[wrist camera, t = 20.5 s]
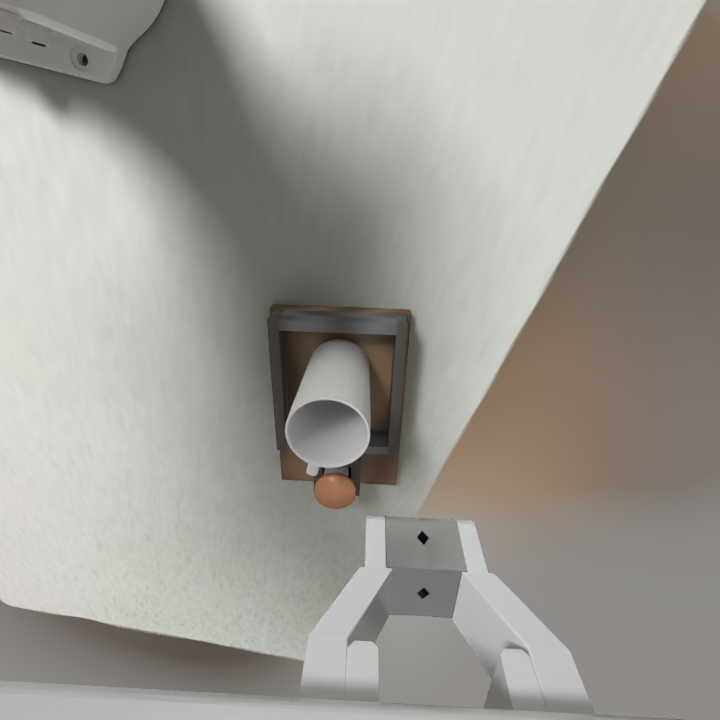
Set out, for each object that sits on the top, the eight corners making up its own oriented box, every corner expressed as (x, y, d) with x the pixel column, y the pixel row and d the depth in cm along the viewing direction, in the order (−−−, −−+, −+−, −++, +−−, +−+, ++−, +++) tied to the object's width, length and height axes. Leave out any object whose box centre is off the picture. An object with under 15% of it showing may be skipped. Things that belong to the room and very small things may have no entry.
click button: (320, 477, 48) (314, 507, 44) (319, 447, 46) (313, 476, 42) (356, 478, 48) (354, 509, 44) (357, 449, 46) (355, 478, 42)
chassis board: (284, 471, 51) (276, 497, 47) (272, 304, 41) (261, 319, 37) (395, 476, 51) (396, 503, 47) (409, 309, 41) (413, 325, 37)
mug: (318, 327, 41) (297, 386, 30) (380, 347, 41) (382, 412, 31) (292, 406, 45) (266, 483, 34) (350, 423, 46) (342, 504, 35)
